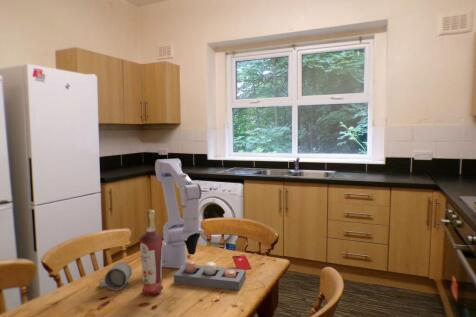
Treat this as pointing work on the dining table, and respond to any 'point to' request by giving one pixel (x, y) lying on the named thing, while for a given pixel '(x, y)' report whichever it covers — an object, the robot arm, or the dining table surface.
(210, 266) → the white egg
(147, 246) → the liquor
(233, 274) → the light brown oval
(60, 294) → the dining table surface
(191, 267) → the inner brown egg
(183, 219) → the robot arm
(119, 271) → the ceramic mug
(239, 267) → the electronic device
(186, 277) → the grey egg tray
